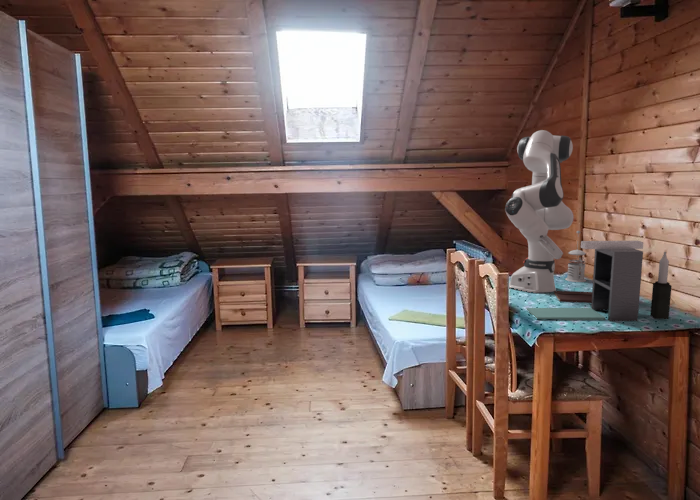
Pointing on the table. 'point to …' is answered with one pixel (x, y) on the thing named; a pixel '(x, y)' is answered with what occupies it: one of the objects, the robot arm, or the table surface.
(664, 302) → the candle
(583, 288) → the table surface
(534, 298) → the table surface
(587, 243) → the aluminium strip
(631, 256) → the rack
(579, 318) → the mat
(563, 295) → the notebook
